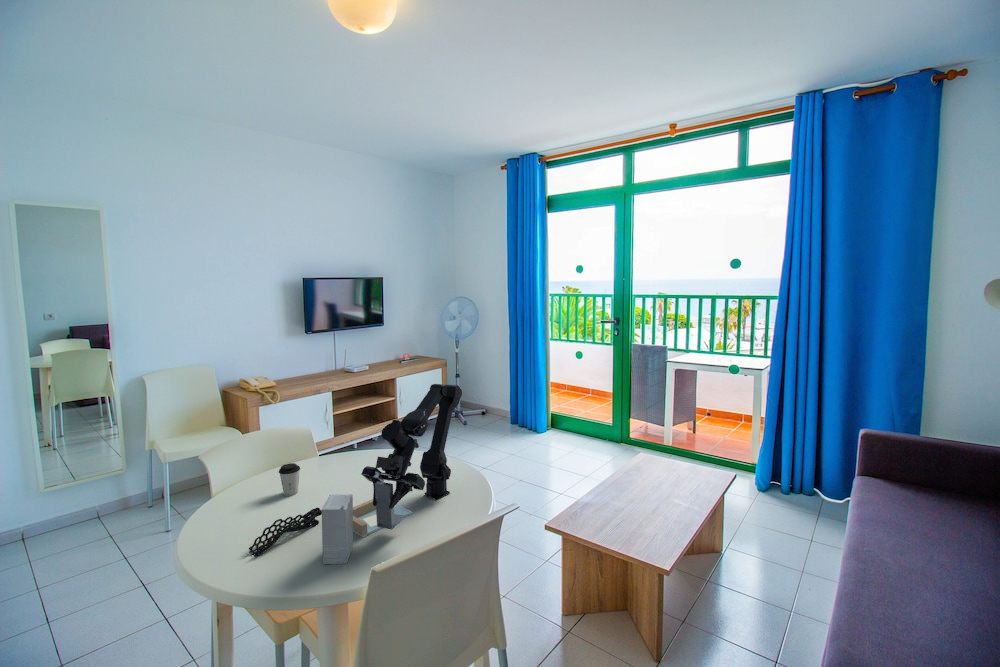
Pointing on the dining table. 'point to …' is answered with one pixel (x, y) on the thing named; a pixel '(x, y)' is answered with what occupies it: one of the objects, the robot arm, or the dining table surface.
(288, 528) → the decorative element
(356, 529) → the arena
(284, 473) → the coffee cup
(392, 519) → the grey tall post
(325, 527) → the skincare box
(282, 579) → the dining table surface
